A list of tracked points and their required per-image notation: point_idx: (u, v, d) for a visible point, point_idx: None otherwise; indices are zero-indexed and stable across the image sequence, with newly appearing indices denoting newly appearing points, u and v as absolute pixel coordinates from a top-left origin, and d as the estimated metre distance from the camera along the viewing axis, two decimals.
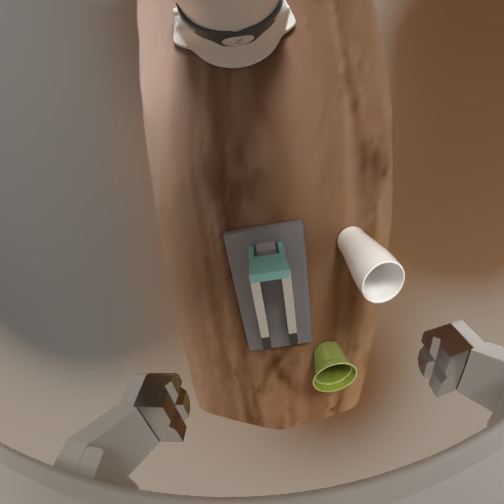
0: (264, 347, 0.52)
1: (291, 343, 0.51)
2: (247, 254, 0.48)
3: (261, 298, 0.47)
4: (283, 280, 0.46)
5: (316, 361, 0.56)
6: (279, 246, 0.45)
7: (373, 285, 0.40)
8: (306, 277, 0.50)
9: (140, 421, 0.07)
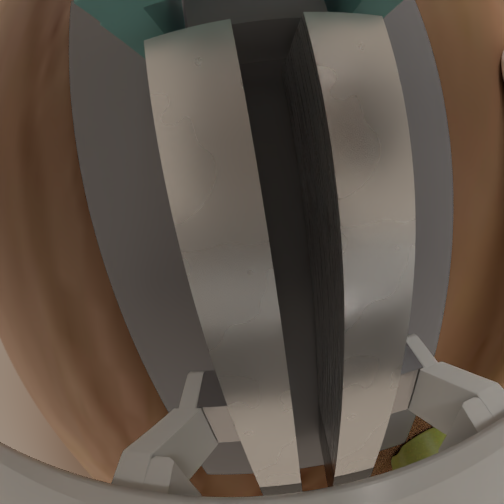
0: None
1: None
2: None
3: (261, 267, 0.05)
4: (335, 89, 0.04)
5: None
6: None
7: None
8: (448, 189, 0.08)
9: (203, 423, 0.07)
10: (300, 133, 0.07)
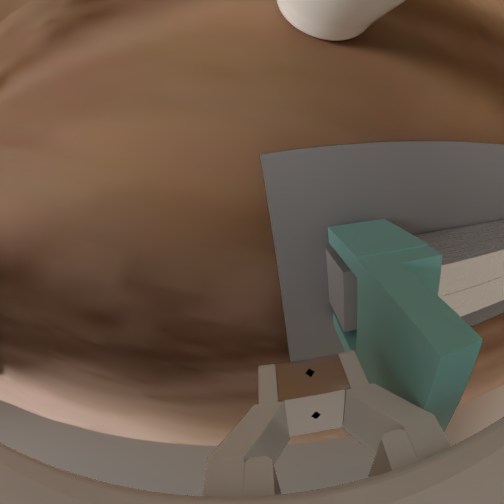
0: None
1: None
2: None
3: (490, 284, 0.10)
4: (453, 288, 0.10)
5: None
6: (339, 251, 0.12)
7: None
8: (445, 145, 0.12)
9: (283, 417, 0.06)
10: None
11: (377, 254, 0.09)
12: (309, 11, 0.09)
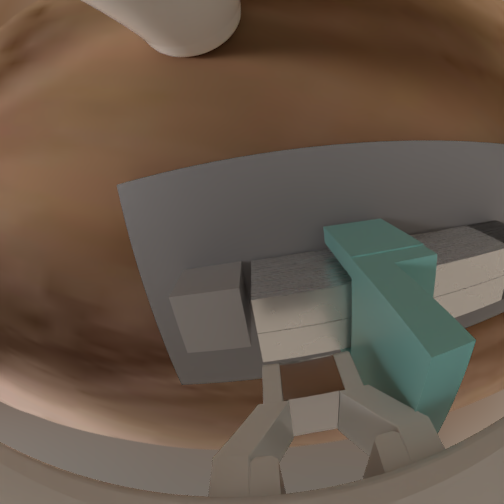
0: None
1: None
2: None
3: None
4: (296, 323, 0.11)
5: None
6: (334, 251, 0.12)
7: None
8: (324, 151, 0.13)
9: (288, 416, 0.06)
10: None
11: (371, 254, 0.09)
12: (145, 38, 0.09)
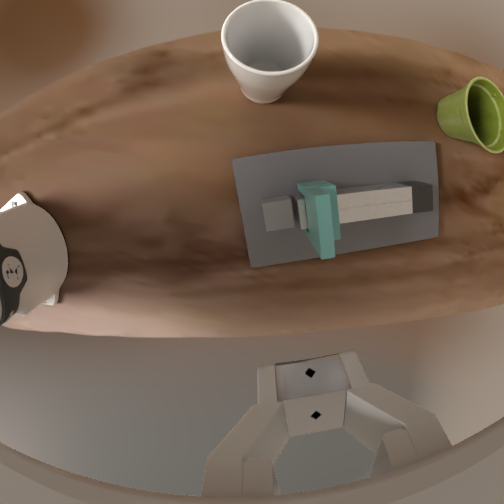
0: (429, 209, 0.28)
1: (429, 195, 0.27)
2: (281, 236, 0.34)
3: (340, 211, 0.28)
4: None
5: (464, 139, 0.26)
6: (300, 190, 0.29)
7: (304, 48, 0.19)
8: (322, 148, 0.30)
9: (282, 417, 0.06)
10: None
11: (311, 186, 0.27)
12: (250, 96, 0.27)
